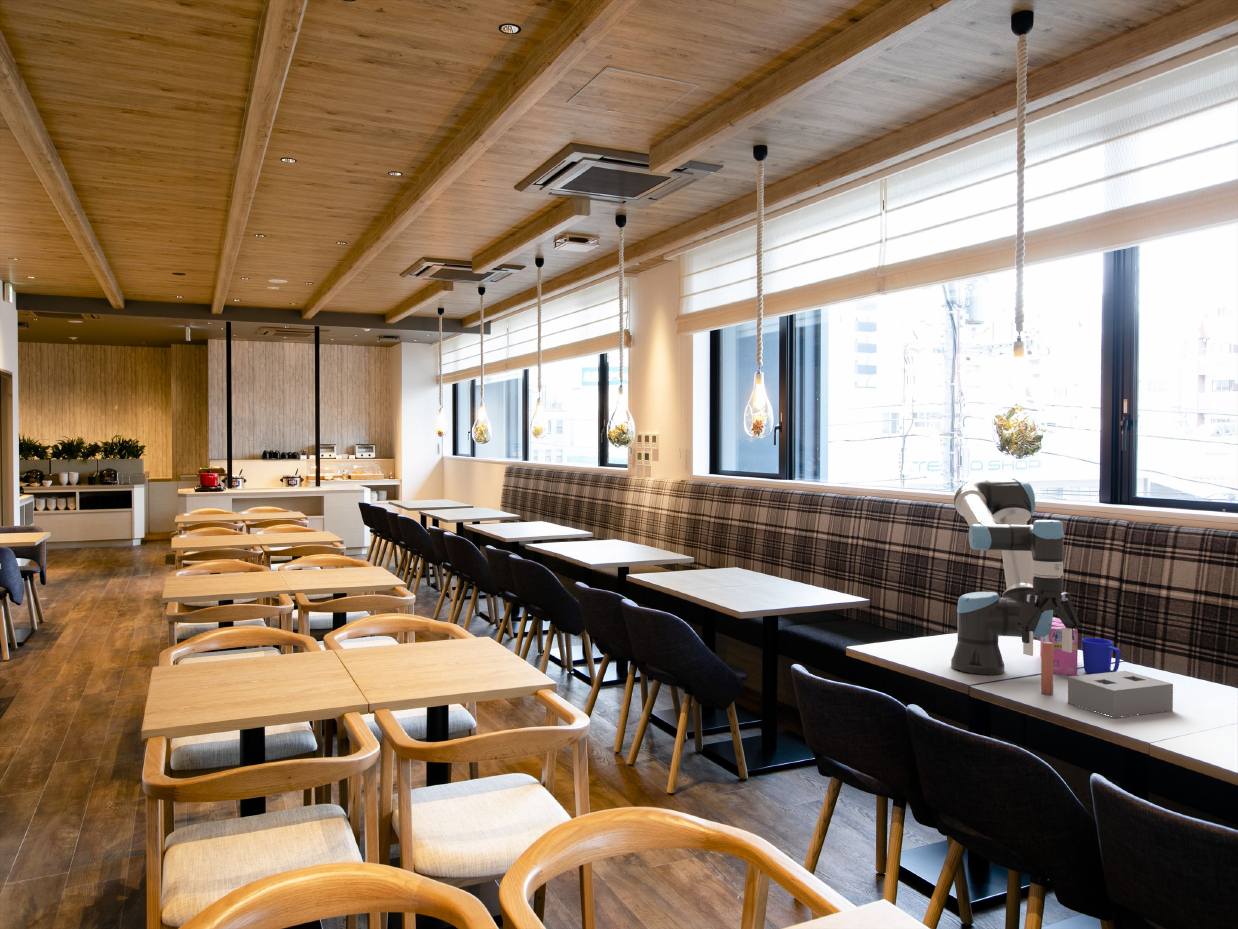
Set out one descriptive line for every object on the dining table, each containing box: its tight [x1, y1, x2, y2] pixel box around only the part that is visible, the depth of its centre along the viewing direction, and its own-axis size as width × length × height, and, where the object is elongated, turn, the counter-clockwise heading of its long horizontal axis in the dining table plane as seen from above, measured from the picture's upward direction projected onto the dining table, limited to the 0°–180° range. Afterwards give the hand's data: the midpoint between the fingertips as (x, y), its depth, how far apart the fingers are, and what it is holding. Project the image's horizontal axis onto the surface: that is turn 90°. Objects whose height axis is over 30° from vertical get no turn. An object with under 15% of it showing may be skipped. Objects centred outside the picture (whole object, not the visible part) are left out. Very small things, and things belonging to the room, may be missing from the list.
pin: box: [1040, 642, 1054, 696], centre depth 237 cm, size 3×3×14 cm
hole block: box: [1067, 670, 1174, 718], centre depth 225 cm, size 20×14×7 cm
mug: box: [1081, 637, 1121, 675], centre depth 257 cm, size 8×12×10 cm
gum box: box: [1039, 617, 1079, 675], centre depth 270 cm, size 24×8×14 cm, turn 160°
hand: (1047, 653), depth 237 cm, fingers open, 13 cm apart
